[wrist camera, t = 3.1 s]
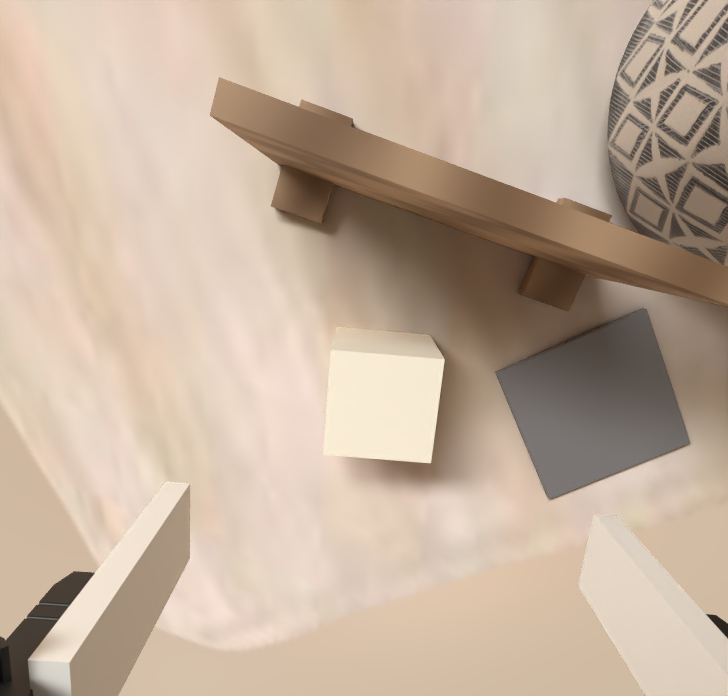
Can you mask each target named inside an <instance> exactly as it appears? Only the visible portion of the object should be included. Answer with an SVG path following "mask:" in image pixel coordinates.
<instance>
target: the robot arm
mask: <svg viewBox="0 0 728 696" xmlns="http://www.w3.org/2000/svg"><path fill="white" fill-rule="evenodd" d="M189 559H190V483H178V482H165V483H164V485H163V486H162V487H161V489H160V490H159V491H158V492H157V494H156V495H155V496H154V498H153V499H152V500H151V501H150V503H149V504H148V505H147V507H146V508H145V509H144V511H143V512H142V513H141V514H140V516H139V517H138V518H137V520H136V521H135V522H134V523H133V525H132V526H131V527H130V529H129V530H128V531H127V532H126V534H125V535H124V536H123V538H122V539H121V540H120V541H119V543H118V544H117V545H116V547H115V548H114V549H113V551H112V552H111V553H110V554H109V556H108V557H107V558H106V560H105V561H104V562H103V563H102V565H101V566H100V567H99V569H98V570H97V571H96V573H90V572H73V573H71V574H70V575H68V576H67V577H65V578H64V579H62V580H61V581H59V582H58V583H56V584H55V585H53V587H52V588H51V589H50V590H49V591H48V593H46V595H45V596H44V597H43V598H42V599H41V600H40V602H39V605H36V606H35V607H34V609H33V610H32V611H31V612H30V613H29V614H28V616H27V619H24V620H23V621H22V623H21V624H20V625H19V626H18V627H17V628H16V629H15V631H14V632H13V633H12V634H11V635H10V636H9V638H8V639H7V640H6V641H5V639H4V638H2V637H0V696H118V695H119V693H120V691H121V689H122V687H123V685H124V683H125V682H126V680H127V677H128V676H129V674H130V671H131V670H132V668H133V666H134V664H135V662H136V660H137V658H138V656H139V655H140V653H141V651H142V649H143V647H144V645H145V643H146V641H147V639H148V637H149V635H150V634H151V632H152V630H153V628H154V626H155V624H156V622H157V620H158V618H159V616H160V614H161V612H162V610H163V609H164V607H165V605H166V603H167V601H168V599H169V597H170V595H171V593H172V591H173V589H174V587H175V586H176V584H177V582H178V580H179V578H180V576H181V574H182V572H183V570H184V568H185V566H186V564H187V562H188V561H189ZM578 587H579V589H580V590H581V592H582V593H583V595H584V596H585V598H586V600H587V602H588V603H589V605H590V607H591V608H592V610H593V611H594V613H595V615H596V616H597V618H598V620H599V621H600V623H601V625H602V626H603V628H604V629H605V631H606V633H607V634H608V636H609V638H610V639H611V641H612V643H613V644H614V646H615V647H616V649H617V651H618V652H619V654H620V656H621V657H622V659H623V660H624V662H625V664H626V665H627V667H628V669H629V670H630V672H631V673H632V675H633V677H634V678H635V680H636V682H637V683H638V685H639V687H640V688H641V690H642V692H643V693H644V695H645V696H728V624H727V623H726V622H725V621H723V620H722V619H720V618H719V617H718V616H716V615H708V614H705V613H704V612H703V611H702V610H701V609H700V607H699V606H698V605H697V604H696V603H695V602H694V601H693V600H692V599H691V597H690V596H689V595H688V594H687V593H686V592H685V591H684V590H683V588H682V587H681V586H680V585H679V584H678V583H677V582H676V581H675V580H674V579H673V577H672V576H671V575H670V574H669V573H668V572H667V571H666V570H665V569H664V567H663V566H662V565H661V564H660V563H659V562H658V561H657V560H656V558H655V557H654V556H653V555H652V554H651V553H650V552H649V551H648V550H647V549H646V547H644V545H643V544H642V543H641V542H640V541H639V540H638V538H637V537H636V536H635V535H634V534H633V533H632V532H631V531H630V530H629V528H628V527H627V526H626V525H625V524H624V523H623V522H622V521H621V520H620V518H619V517H618V516H615V515H601V514H594V516H593V521H592V525H591V530H590V534H589V539H588V543H587V548H586V552H585V557H584V561H583V566H582V570H581V575H580V579H579V584H578Z"/></svg>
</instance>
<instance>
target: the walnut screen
mask: <svg viewBox="0 0 728 696" xmlns="http://www.w3.org/2000/svg"><path fill="white" fill-rule="evenodd" d="M210 116H211V117H213V118H214V119H216V120H217V121H218V122H220V123H221V124H223V125H224V126H225V127H227V128H228V129H230V130H231V131H232V132H234V133H235V134H236V135H238V136H239V137H241V138H242V139H243V140H245V141H246V142H248V143H249V144H250V145H252V146H253V147H255V148H256V149H257V150H259V151H260V152H262V153H263V154H264V155H266V156H267V157H268V158H270V159H271V160H273V161H274V162H275V163H277V164H279V165H282V169H281V172H280V176H279V179H278V183H277V186H276V190H275V193H274V197H273V200H272V204H271V206H272V207H275V208H278V209H280V210H283V211H286V212H289V213H292V214H295V215H297V216H300V217H303V218H306V219H309V220H312V221H314V222H317V223H320V224H321V223H322V220H323V217H324V214H325V210H326V207H327V204H328V201H329V198H330V194H331V191H332V188H333V185H337V186H340V187H343V188H346V189H348V190H351V191H354V192H357V193H359V194H362V195H365V196H368V197H370V198H373V199H376V200H379V201H381V202H384V203H387V204H390V205H393V206H395V207H398V208H401V209H404V210H406V211H409V212H412V213H415V214H417V215H420V216H423V217H426V218H429V219H431V220H434V221H437V222H440V223H442V224H445V225H448V226H451V227H453V228H456V229H459V230H462V231H465V232H467V233H470V234H473V235H476V236H478V237H481V238H484V239H487V240H489V241H492V242H495V243H498V244H501V245H503V246H506V247H509V248H512V249H514V250H517V251H520V252H523V253H525V254H528V255H531V256H534V258H533V260H532V262H531V265H530V267H529V269H528V272H527V274H526V277H525V279H524V281H523V284H522V286H521V288H520V291H519V294H521V295H524V296H527V297H529V298H532V299H535V300H538V301H541V302H543V303H546V304H549V305H552V306H555V307H558V308H560V309H563V310H566V311H569V309H570V307H571V305H572V302H573V300H574V298H575V296H576V294H577V291H578V289H579V287H580V285H581V282H582V280H583V278H584V276H585V275H587V276H591V277H596V278H600V279H605V280H609V281H614V282H619V283H623V284H628V285H632V286H637V287H641V288H646V289H650V290H655V291H659V292H664V293H668V294H673V295H677V296H682V297H686V298H691V299H695V300H700V301H704V302H709V303H713V304H718V305H722V306H727V307H728V267H727V266H724V265H722V264H719V263H716V262H714V261H711V260H708V259H706V258H703V257H700V256H698V255H695V254H692V253H689V252H687V251H684V250H681V249H679V248H676V247H673V246H671V245H668V244H665V243H663V242H660V241H657V240H655V239H652V238H649V237H646V236H644V235H641V234H638V233H636V232H633V231H630V230H628V229H625V228H622V227H620V226H617V225H614V224H612V223H609V221H610V218H611V216H612V215H609V214H606V213H604V212H601V211H598V210H596V209H593V208H590V207H588V206H585V205H582V204H580V203H577V202H574V201H572V200H569V199H566V198H562V199H558V201H557V203H555V202H552V201H550V200H547V199H544V198H542V197H539V196H536V195H534V194H531V193H528V192H526V191H523V190H520V189H518V188H515V187H512V186H509V185H507V184H504V183H501V182H499V181H496V180H493V179H491V178H488V177H485V176H483V175H480V174H477V173H475V172H472V171H469V170H466V169H464V168H461V167H458V166H456V165H453V164H450V163H448V162H445V161H442V160H440V159H437V158H434V157H432V156H429V155H426V154H424V153H421V152H418V151H415V150H413V149H410V148H407V147H405V146H402V145H399V144H397V143H394V142H391V141H389V140H386V139H383V138H381V137H378V136H375V135H372V134H370V133H367V132H364V131H362V130H359V129H356V128H354V127H352V124H353V119H352V118H350V117H347V116H344V115H342V114H339V113H336V112H333V111H331V110H328V109H325V108H323V107H320V106H317V105H315V104H312V103H309V102H307V101H304V100H301V103H300V106H299V107H297V106H295V105H292V104H289V103H286V102H284V101H281V100H278V99H276V98H273V97H270V96H268V95H265V94H262V93H260V92H257V91H254V90H252V89H249V88H246V87H244V86H241V85H238V84H235V83H233V82H230V81H227V80H225V79H222V78H219V80H218V84H217V88H216V92H215V96H214V100H213V104H212V108H211V112H210Z"/></svg>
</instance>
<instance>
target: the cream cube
mask: <svg viewBox="0 0 728 696" xmlns="http://www.w3.org/2000/svg"><path fill="white" fill-rule="evenodd" d="M444 361H445V359H444V357H443V356H442V354H441V352H440V351H439V349H438V347H437V346H436V344H435V343H434V341H433V339H432V338H431V336H430V335H426V334H414V333H403V332H391V331H379V330H368V329H356V328H344V327H337V328H336V331H335V335H334V339H333V343H332V347H331V352H330V366H329V379H328V393H327V407H326V420H325V434H324V448H323V455H333V456H345V457H358V458H371V459H383V460H396V461H408V462H421V463H431V459H432V452H433V444H434V437H435V429H436V422H437V414H438V407H439V399H440V392H441V384H442V376H443V369H444Z"/></svg>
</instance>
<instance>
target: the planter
mask: <svg viewBox="0 0 728 696" xmlns="http://www.w3.org/2000/svg"><path fill="white" fill-rule="evenodd" d="M608 151H609V160H610V165H611V171H612V175H613V179H614V183H615V186H616V189H617V192H618V194H619V197H620V200H621V202H622V204H623V206H624V208H625V210H626V212H627V214H628V215H629V217H630V219H631V221H632V222H633V224H634V225H635V226H636V228H637V229H638V231H639V232H640V233H641V234H642V235H644V236H646V237H649V238H652V239H655V240H657V241H660V242H663V243H665V244H668V245H671V246H673V247H676V248H679V249H681V250H684V251H687V252H689V253H692V254H695V255H698V256H700V257H703V258H706V259H708V260H711V261H714V262H716V263H719V264H722V265H724V266H727V267H728V0H654V1H653V2H652V4H651V5H650V7H649V8H648V10H647V11H646V13H645V14H644V16H643V17H642V19H641V21H640V22H639V24H638V26H637V28H636V29H635V31H634V33H633V35H632V37H631V39H630V41H629V43H628V45H627V48H626V50H625V53H624V55H623V58H622V60H621V63H620V66H619V69H618V72H617V75H616V79H615V83H614V86H613V90H612V96H611V101H610V108H609V117H608Z"/></svg>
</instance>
